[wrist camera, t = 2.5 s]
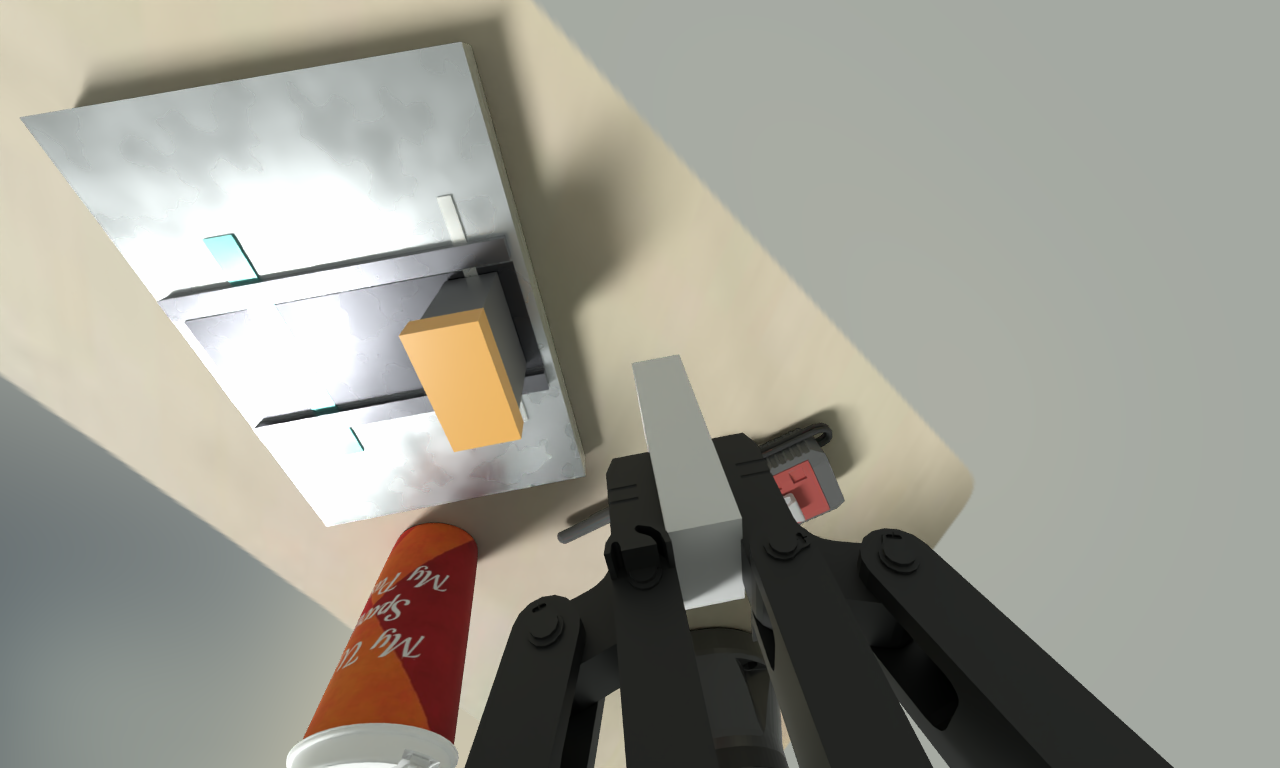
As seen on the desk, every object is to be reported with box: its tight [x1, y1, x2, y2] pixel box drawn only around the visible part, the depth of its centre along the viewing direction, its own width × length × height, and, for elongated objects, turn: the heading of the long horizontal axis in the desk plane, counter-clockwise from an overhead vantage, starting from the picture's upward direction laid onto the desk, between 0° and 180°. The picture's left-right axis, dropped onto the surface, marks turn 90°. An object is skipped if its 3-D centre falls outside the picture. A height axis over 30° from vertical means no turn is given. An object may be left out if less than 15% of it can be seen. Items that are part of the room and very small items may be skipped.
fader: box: [399, 272, 527, 452], centre depth 21 cm, size 5×3×6 cm, turn 8°
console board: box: [20, 42, 586, 527], centre depth 24 cm, size 22×16×3 cm
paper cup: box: [286, 523, 478, 768], centre depth 28 cm, size 8×8×14 cm
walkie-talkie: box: [557, 423, 845, 544], centre depth 33 cm, size 9×4×20 cm
